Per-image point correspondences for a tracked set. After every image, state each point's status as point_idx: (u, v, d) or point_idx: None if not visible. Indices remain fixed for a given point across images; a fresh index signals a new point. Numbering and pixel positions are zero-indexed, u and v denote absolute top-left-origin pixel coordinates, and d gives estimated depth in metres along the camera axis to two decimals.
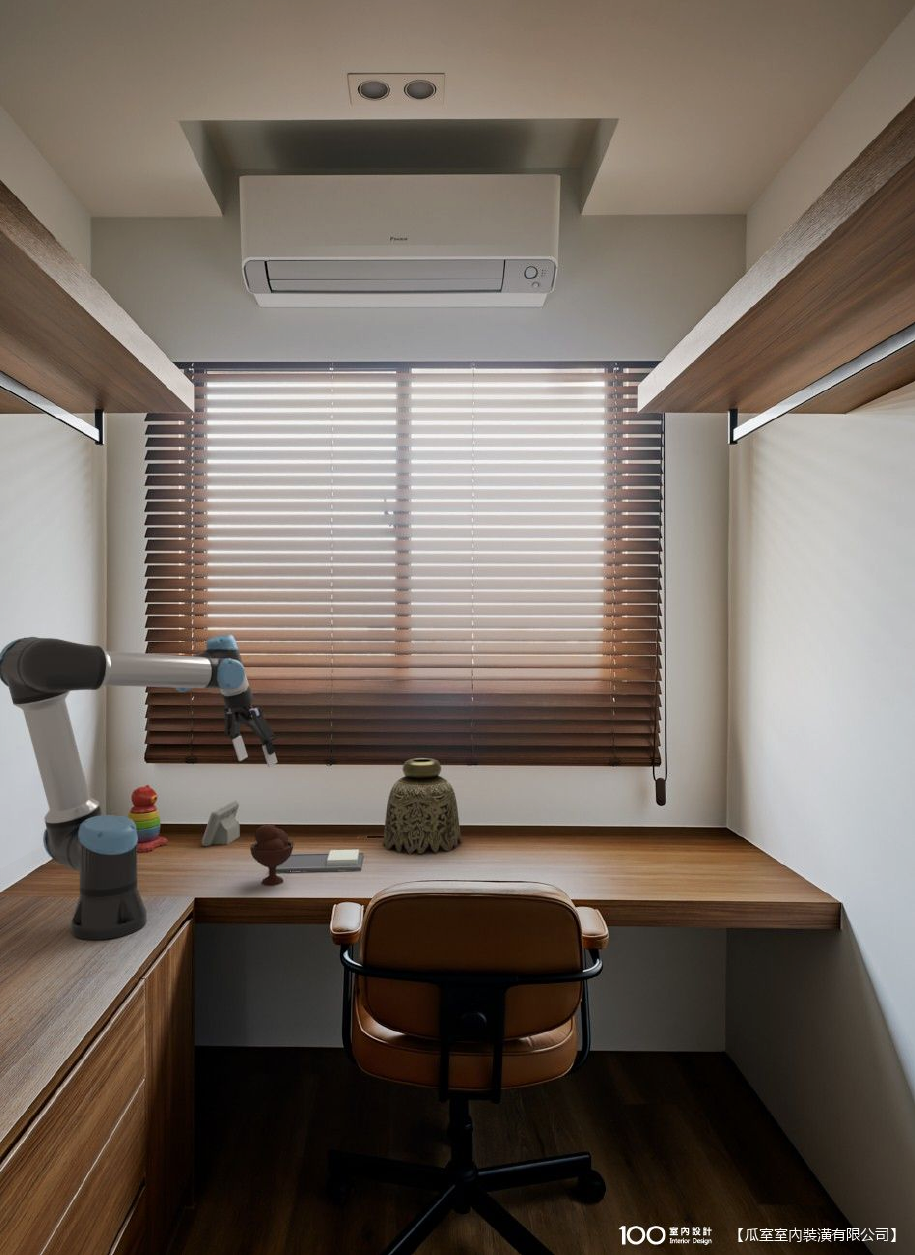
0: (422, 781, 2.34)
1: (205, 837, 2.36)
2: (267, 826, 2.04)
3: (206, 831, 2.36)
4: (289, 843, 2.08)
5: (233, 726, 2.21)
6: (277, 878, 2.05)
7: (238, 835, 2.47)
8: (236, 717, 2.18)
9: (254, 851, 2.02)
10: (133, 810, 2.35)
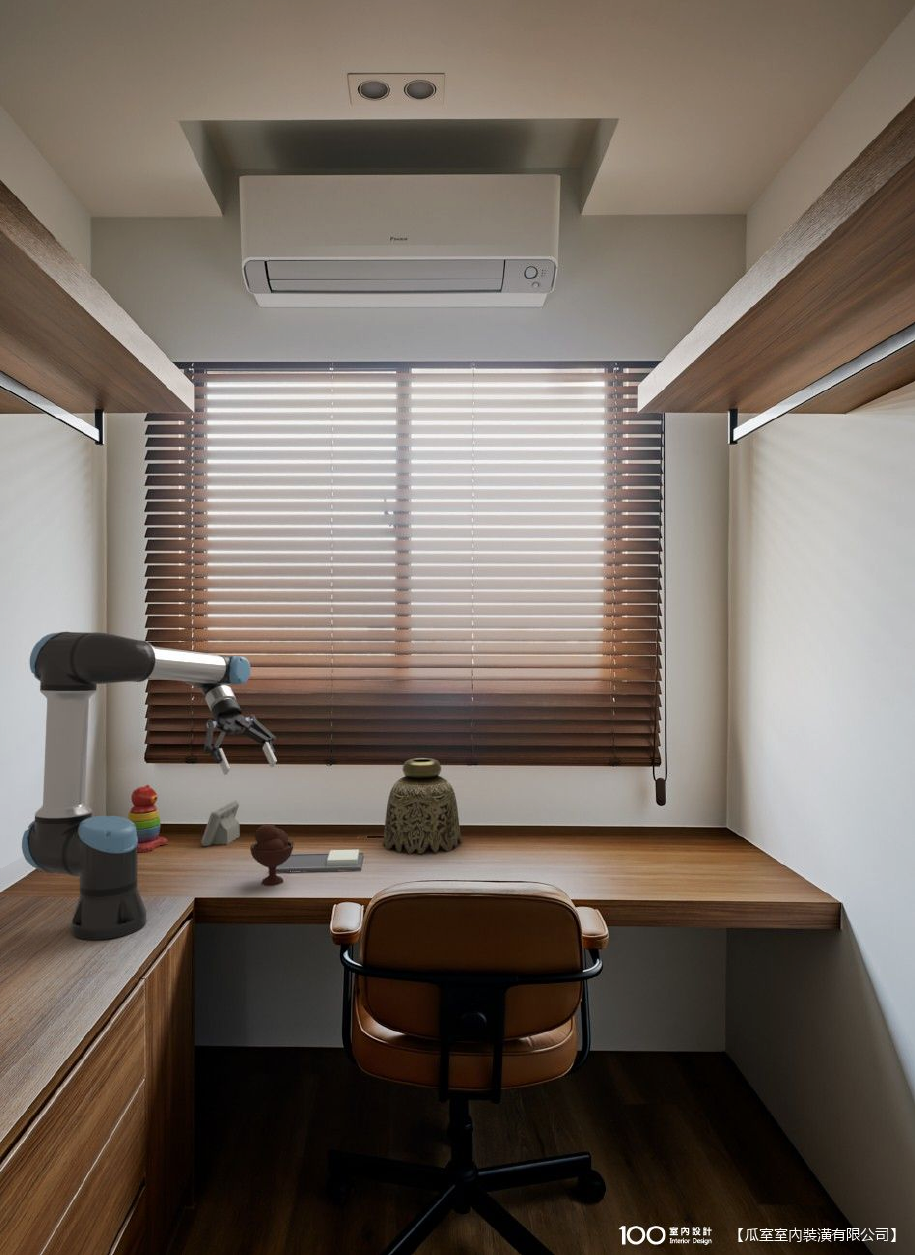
0: (422, 781, 2.34)
1: (205, 837, 2.36)
2: (267, 826, 2.04)
3: (206, 831, 2.37)
4: (289, 843, 2.08)
5: (222, 734, 2.14)
6: (277, 878, 2.05)
7: (238, 835, 2.47)
8: (230, 723, 2.18)
9: (254, 851, 2.02)
10: (133, 810, 2.35)
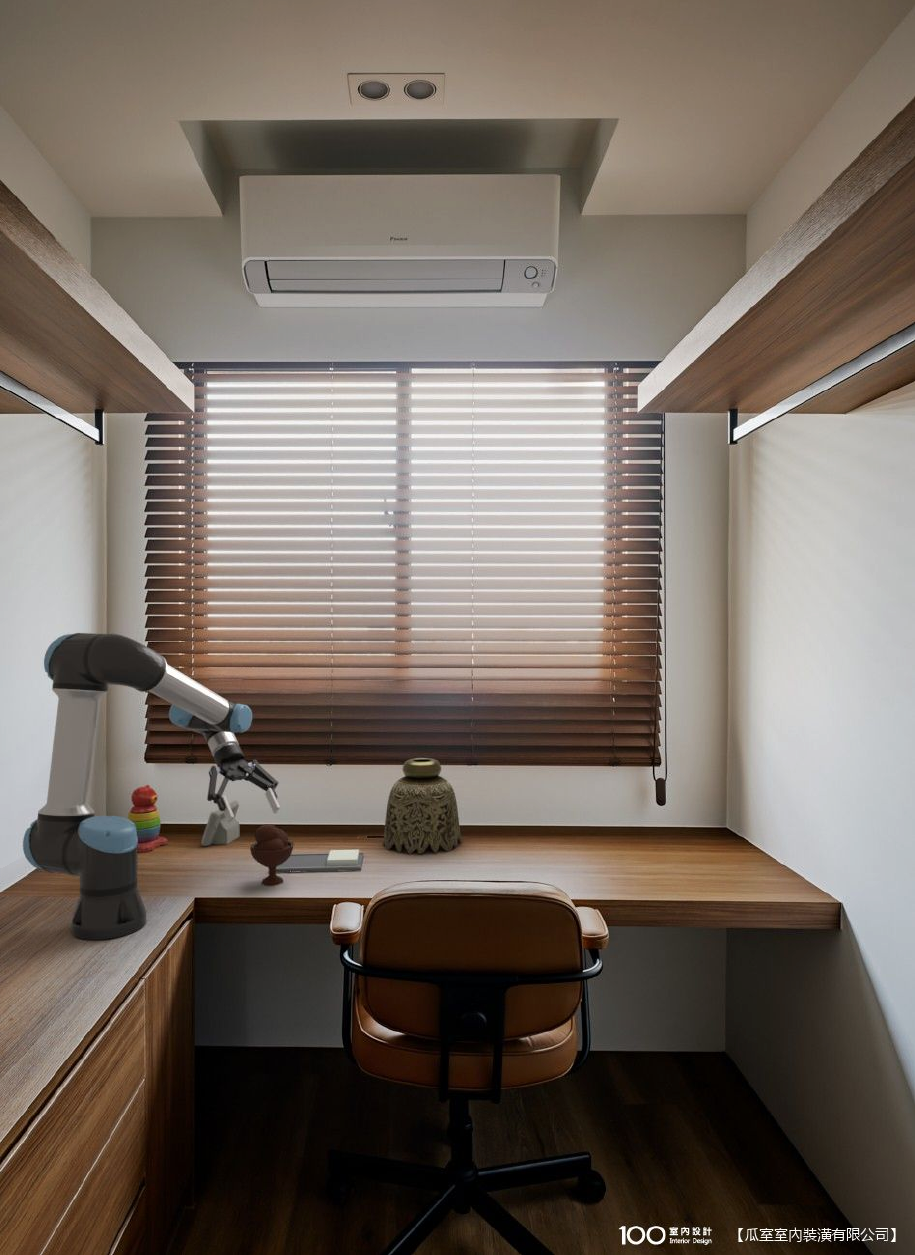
0: (422, 781, 2.34)
1: (205, 837, 2.37)
2: (267, 826, 2.04)
3: (206, 831, 2.37)
4: (289, 843, 2.08)
5: (225, 781, 2.14)
6: (277, 878, 2.05)
7: (238, 835, 2.47)
8: (233, 769, 2.18)
9: (254, 851, 2.02)
10: (133, 810, 2.35)
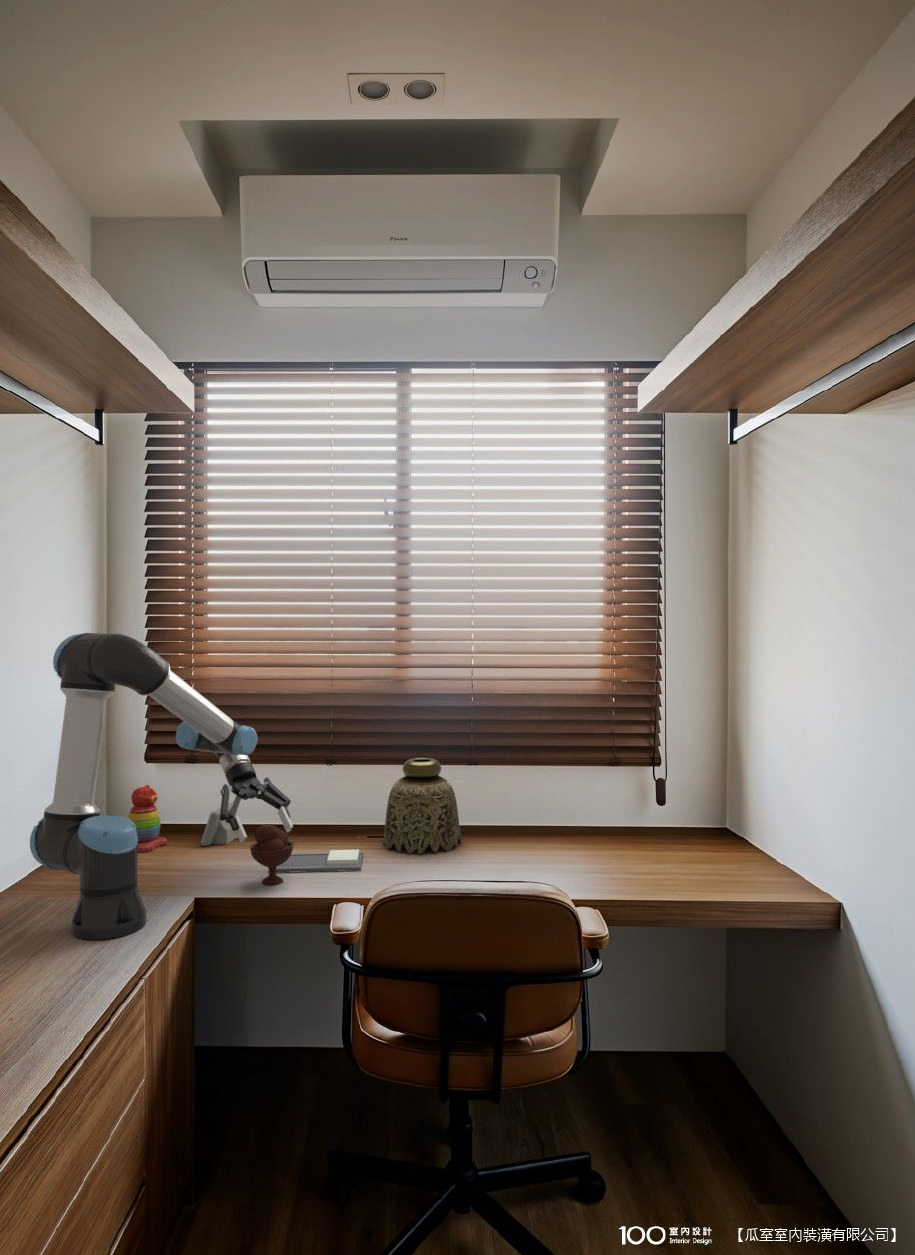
0: (422, 781, 2.34)
1: (204, 837, 2.37)
2: (267, 826, 2.04)
3: (205, 831, 2.37)
4: (289, 843, 2.08)
5: (238, 800, 2.11)
6: (277, 878, 2.05)
7: None
8: (245, 788, 2.15)
9: (254, 851, 2.02)
10: (133, 810, 2.35)
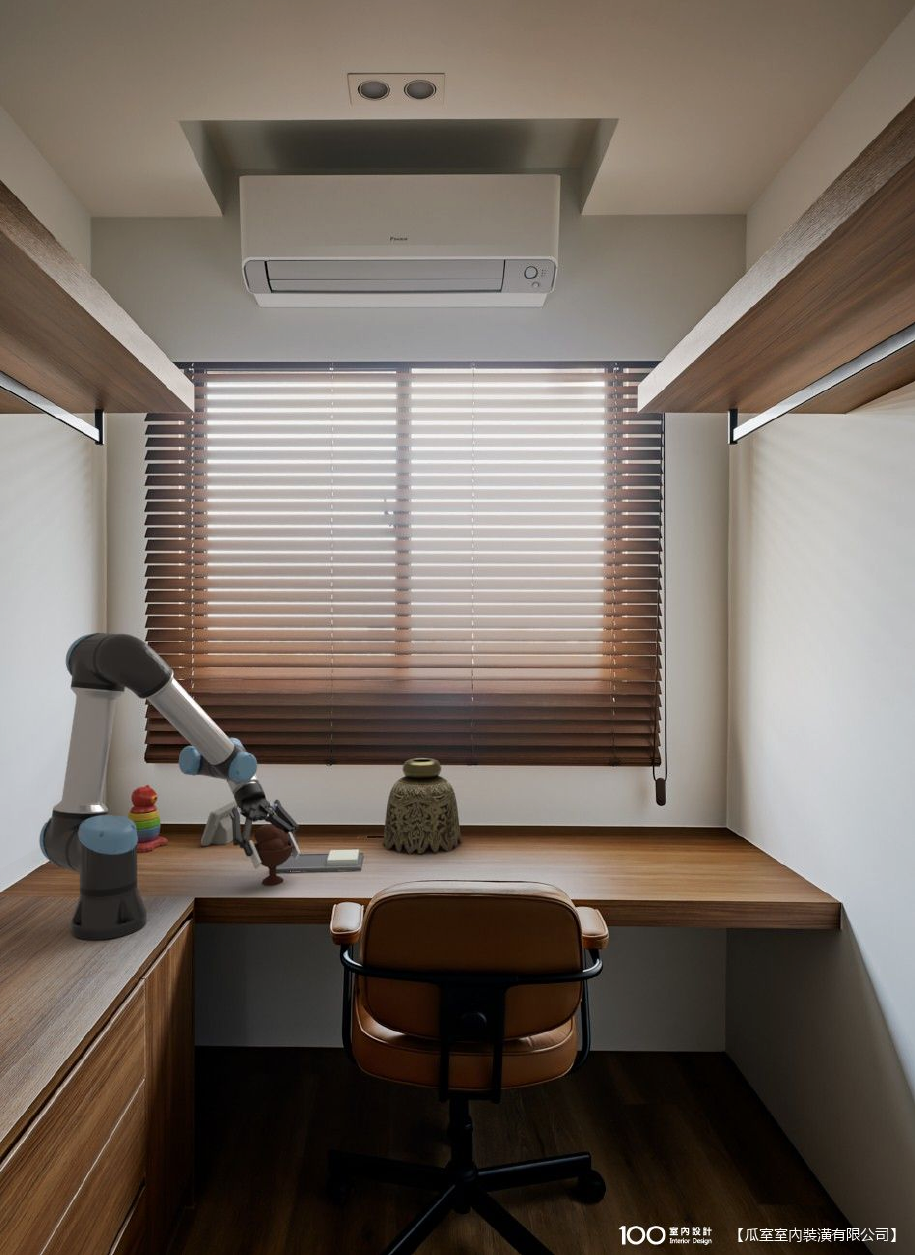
0: (422, 781, 2.34)
1: (204, 837, 2.37)
2: (267, 826, 2.04)
3: (205, 831, 2.37)
4: (289, 843, 2.08)
5: (249, 824, 2.06)
6: (277, 878, 2.05)
7: None
8: None
9: None
10: (133, 810, 2.35)
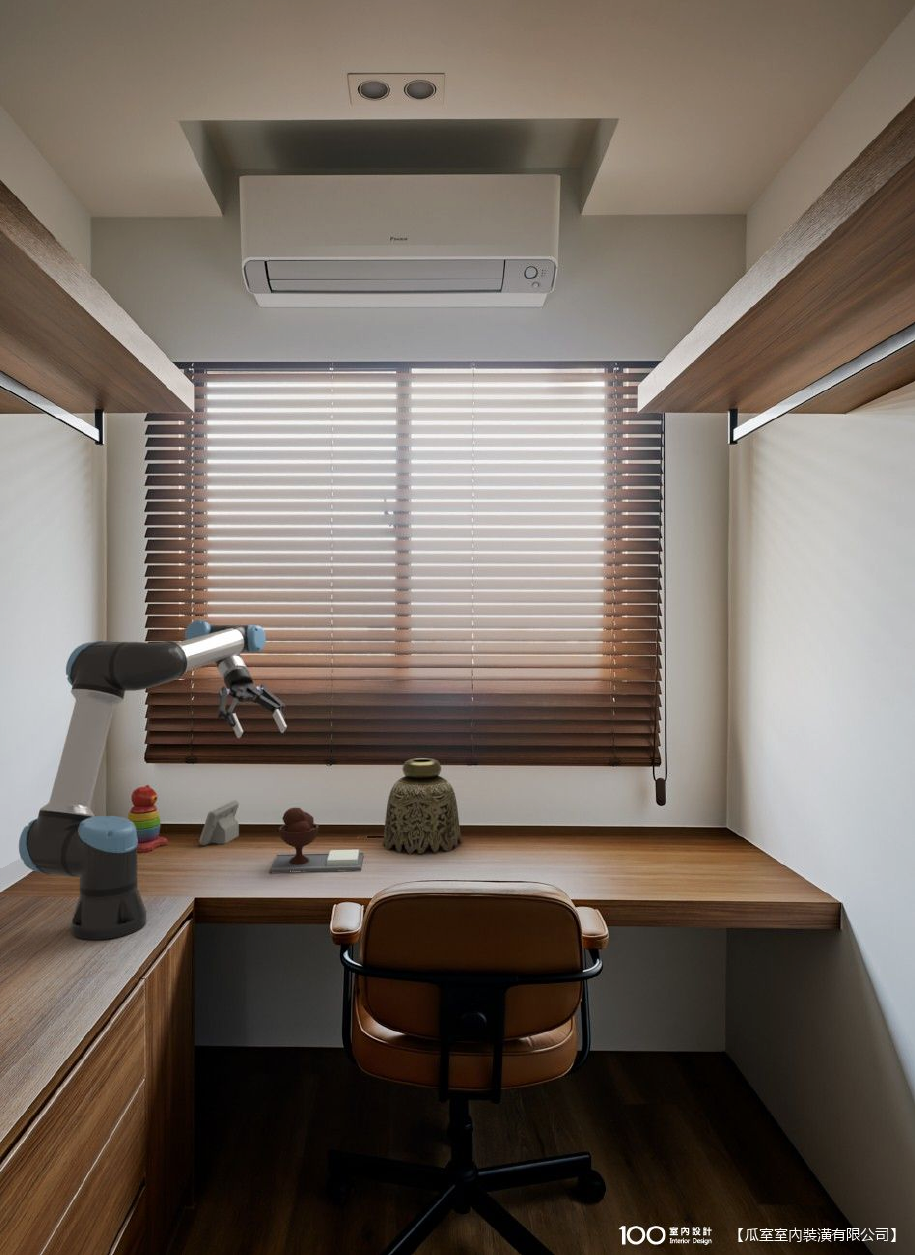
0: (422, 781, 2.34)
1: (202, 836, 2.37)
2: (294, 809, 2.18)
3: (203, 830, 2.37)
4: (314, 825, 2.23)
5: (235, 701, 2.25)
6: (303, 858, 2.19)
7: (237, 834, 2.47)
8: (242, 691, 2.29)
9: (282, 832, 2.16)
10: (133, 810, 2.35)
